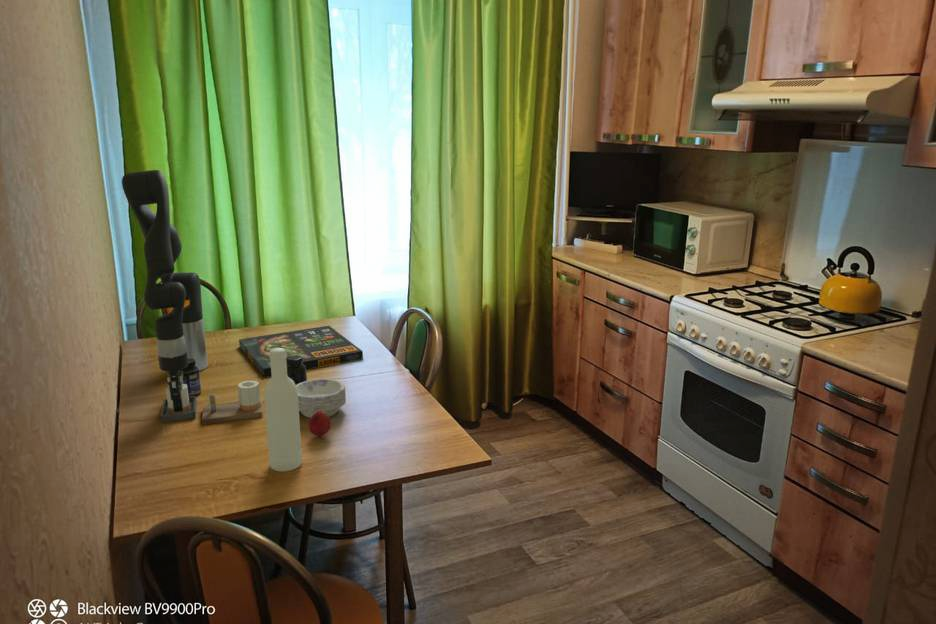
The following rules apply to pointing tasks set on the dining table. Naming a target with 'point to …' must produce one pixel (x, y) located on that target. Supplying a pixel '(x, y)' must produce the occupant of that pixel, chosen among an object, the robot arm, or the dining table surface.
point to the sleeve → (184, 399)
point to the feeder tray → (186, 415)
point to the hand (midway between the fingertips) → (179, 406)
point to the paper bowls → (320, 396)
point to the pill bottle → (192, 378)
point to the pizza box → (302, 348)
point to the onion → (319, 424)
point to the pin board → (226, 412)
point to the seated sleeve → (249, 395)
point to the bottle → (282, 416)
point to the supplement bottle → (296, 369)
